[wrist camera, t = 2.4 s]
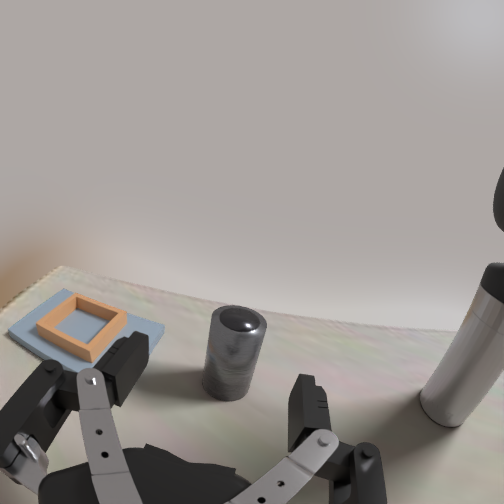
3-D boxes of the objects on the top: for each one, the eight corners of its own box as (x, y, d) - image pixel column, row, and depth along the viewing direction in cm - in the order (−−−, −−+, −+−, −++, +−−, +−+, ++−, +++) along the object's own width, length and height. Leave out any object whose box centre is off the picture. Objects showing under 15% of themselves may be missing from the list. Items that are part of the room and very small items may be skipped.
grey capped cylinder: (235, 364, 31) (249, 301, 28) (257, 393, 27) (277, 330, 24) (195, 373, 28) (203, 306, 26) (214, 406, 24) (227, 340, 22)
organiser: (164, 332, 34) (165, 313, 33) (121, 399, 22) (117, 380, 21) (64, 295, 35) (62, 278, 34) (10, 336, 22) (4, 317, 21)
